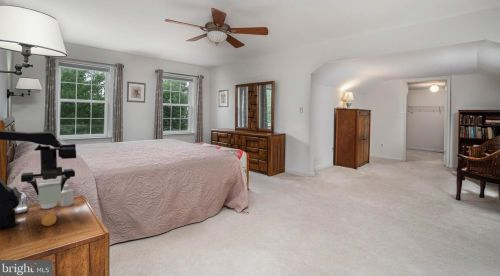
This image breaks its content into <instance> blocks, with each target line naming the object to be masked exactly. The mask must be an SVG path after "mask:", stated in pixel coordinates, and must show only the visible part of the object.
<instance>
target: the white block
mask: <svg viewBox="0 0 500 276" xmlns="http://www.w3.org/2000/svg"><path fill="white" fill-rule="evenodd" d="M37 186H38V191H39V195H38V205H39V206H41V205H45V204H51V203H61V180H59V181H58V180H57V181H50V182H41V183H37Z"/></svg>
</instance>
